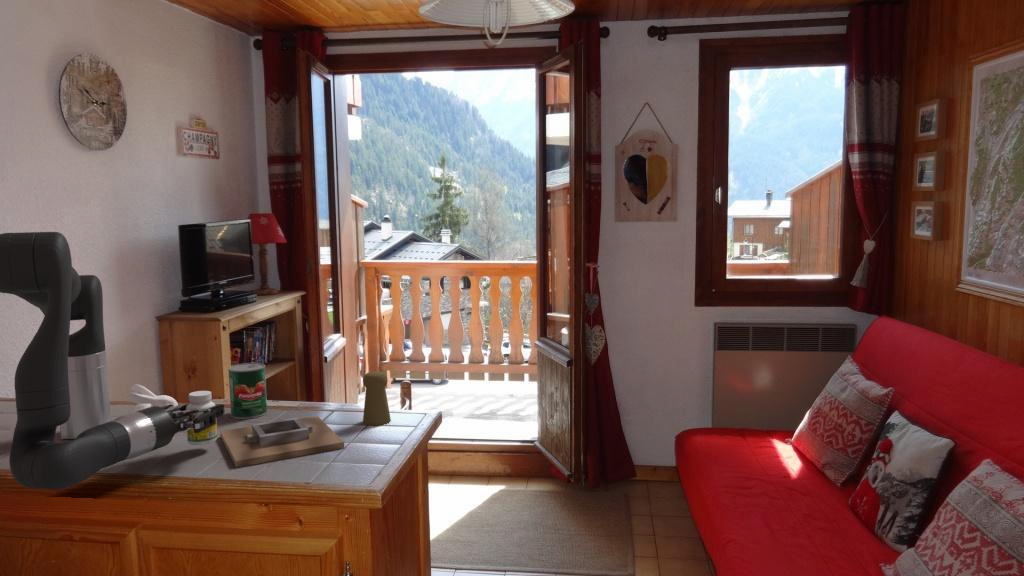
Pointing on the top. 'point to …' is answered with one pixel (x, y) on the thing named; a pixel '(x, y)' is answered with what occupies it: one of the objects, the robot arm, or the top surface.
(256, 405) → the canned tomato
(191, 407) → the supplement bottle
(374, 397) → the cork
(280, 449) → the holder
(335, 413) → the top surface
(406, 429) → the top surface
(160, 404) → the rabbit
